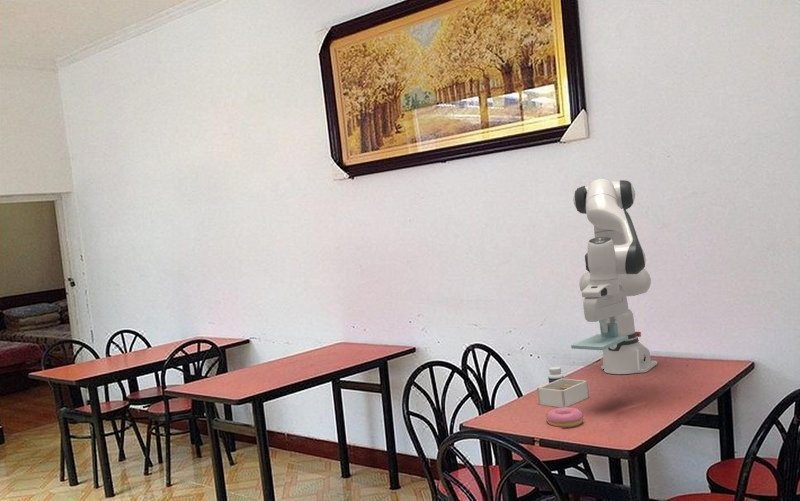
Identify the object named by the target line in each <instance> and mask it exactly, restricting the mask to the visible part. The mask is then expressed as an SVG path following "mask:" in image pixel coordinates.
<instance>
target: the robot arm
mask: <svg viewBox="0 0 800 501" xmlns="http://www.w3.org/2000/svg"><path fill="white" fill-rule="evenodd" d="M635 198H636V191H635V188H634V185H633V184H632V183H631V181H629V180H626V179H625V180H622V179H620V180H615V181H614V180H609V179H606V178H598V179H594V180H593V181H592V182H590V184H588V185H582V186H579V187H577V189H576V190H575V191H574V194H573V204H574V207H575V209H576V211H577V212H578V213H579V214H585V215H586V218H587V220H588V222H589V223H590V224H592V225H593V231H594V234H593V235H594V238H590V239H589V240H588V242H587V252H586V253H585V255H584V259H585V260H584V262H585V269H586V271H587V272H584V273H583V274H582V275H581V277H580V278H579V290H580V291H581V296H582V298H584V299H583V302H582V303H583V305H582V306H583V312H584V313H583V314H584V319H585V320H586V322H587V323H588V322H591V323H597V322H598V323H599V326H600V325H601V327H602V332H603V333H607V332H609V331H610V330H609V329H610V328H609V326H608V325H607V323H617V327H618V335H625V336H628V339H627V340H625V341H622V342H620V343H618V344H616V345H613V346H611V347H609V348H607V349H605V350H602V365H600V369H601V370H603V369H604V370H603V372H605V373H606V374H612V375H630V374H639V373H641V374H643V373H647V372H648V371H650V370H651V369H653V368H654V367H656V366H657V365H658V361H656V360H653V359H651V354H650V351H649V348H647V347H646V346H645V345H643V344H642V343H641V342H639V341H640V340H639V338H641V337H642V332H641V331H636V329H635V319H634V317H635V316H634V313H633V312H632V311H631V309H629V303H628V298H627V297H635V296H638V295H639V296H640V295H643V294H646V293H647V292H648V291H649V289H650V288H651V284H652V278H651V276H650V275H651V274H649V272H648V271H647V269H646V268H645V267H646V263H647V261H646V260H647V259H646V253H645V252H644V249H643V248H642V245H641V243H640V241H639V238H638V235H637V231H636V229H635V226H634V223H633V221H632V218H631V215H630V214H629V212H628V211H627V210H628V209H630V208H631V207H632V206H633V205H634V204H635V203H634V202H635Z"/></svg>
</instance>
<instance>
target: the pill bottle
mask: <svg viewBox="0 0 800 501" xmlns="http://www.w3.org/2000/svg"><path fill="white" fill-rule="evenodd" d="M548 371H549V374H548V375H547V378H548V384H549V383H552V382H554V381H557V380H559V379H562V378H563V379H565V378H564V374H563V373H562V368H561V367H560V366H552V367H549V368H548Z"/></svg>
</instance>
